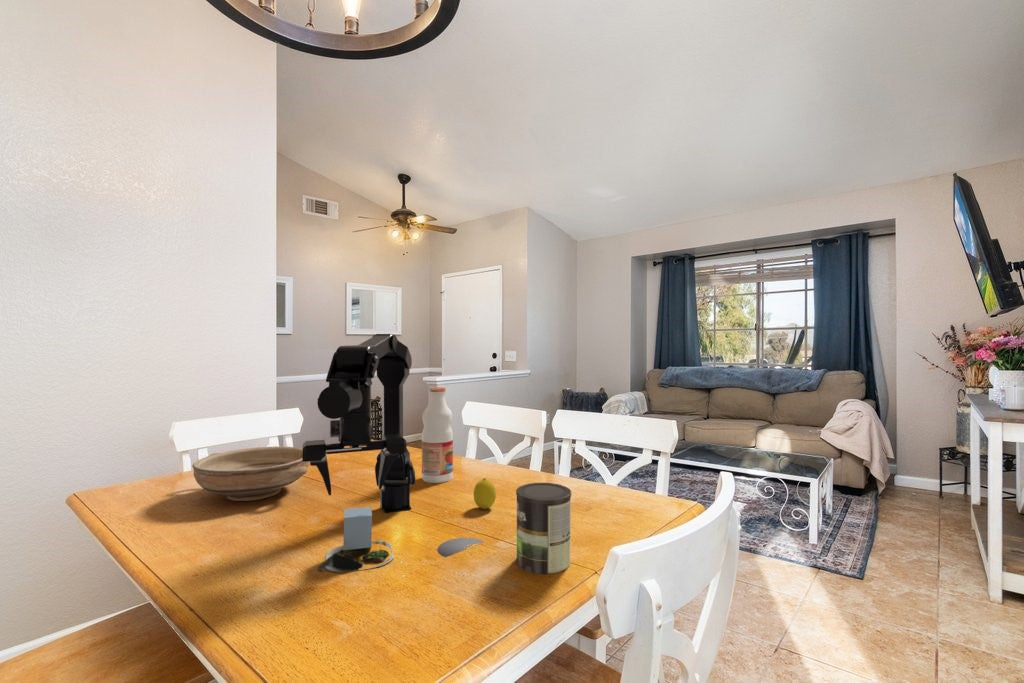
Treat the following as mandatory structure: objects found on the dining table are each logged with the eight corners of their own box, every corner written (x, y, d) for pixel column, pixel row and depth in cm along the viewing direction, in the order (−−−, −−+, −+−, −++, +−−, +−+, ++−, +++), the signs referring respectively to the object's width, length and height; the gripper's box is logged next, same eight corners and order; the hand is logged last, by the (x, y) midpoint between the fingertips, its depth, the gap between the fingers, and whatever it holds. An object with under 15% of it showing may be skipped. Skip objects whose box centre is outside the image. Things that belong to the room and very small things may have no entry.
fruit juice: (420, 476, 148) (420, 386, 148) (450, 474, 151) (450, 385, 151) (422, 485, 139) (422, 389, 139) (454, 482, 142) (454, 388, 142)
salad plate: (323, 548, 98) (323, 531, 98) (391, 540, 101) (391, 523, 101) (315, 583, 83) (315, 562, 83) (395, 572, 87) (395, 553, 87)
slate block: (370, 536, 95) (370, 506, 95) (371, 547, 90) (372, 515, 90) (343, 539, 93) (344, 509, 93) (343, 550, 89) (344, 518, 89)
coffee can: (518, 580, 83) (518, 500, 83) (513, 554, 93) (513, 482, 93) (576, 578, 84) (576, 498, 84) (565, 552, 94) (565, 481, 94)
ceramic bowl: (158, 499, 127) (158, 461, 127) (257, 472, 152) (257, 441, 152) (249, 521, 111) (249, 478, 111) (342, 488, 136) (342, 453, 136)
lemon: (492, 515, 115) (492, 482, 115) (470, 513, 116) (470, 480, 116) (498, 507, 120) (498, 475, 120) (476, 505, 121) (477, 474, 121)
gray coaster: (478, 537, 102) (478, 534, 102) (495, 556, 92) (495, 553, 92) (432, 545, 98) (432, 542, 98) (445, 566, 88) (445, 563, 88)
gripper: (397, 403, 103) (397, 475, 103) (302, 408, 95) (302, 486, 95) (407, 410, 93) (407, 490, 92) (302, 416, 85) (302, 503, 85)
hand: (355, 491), depth 92 cm, fingers open, 9 cm apart
